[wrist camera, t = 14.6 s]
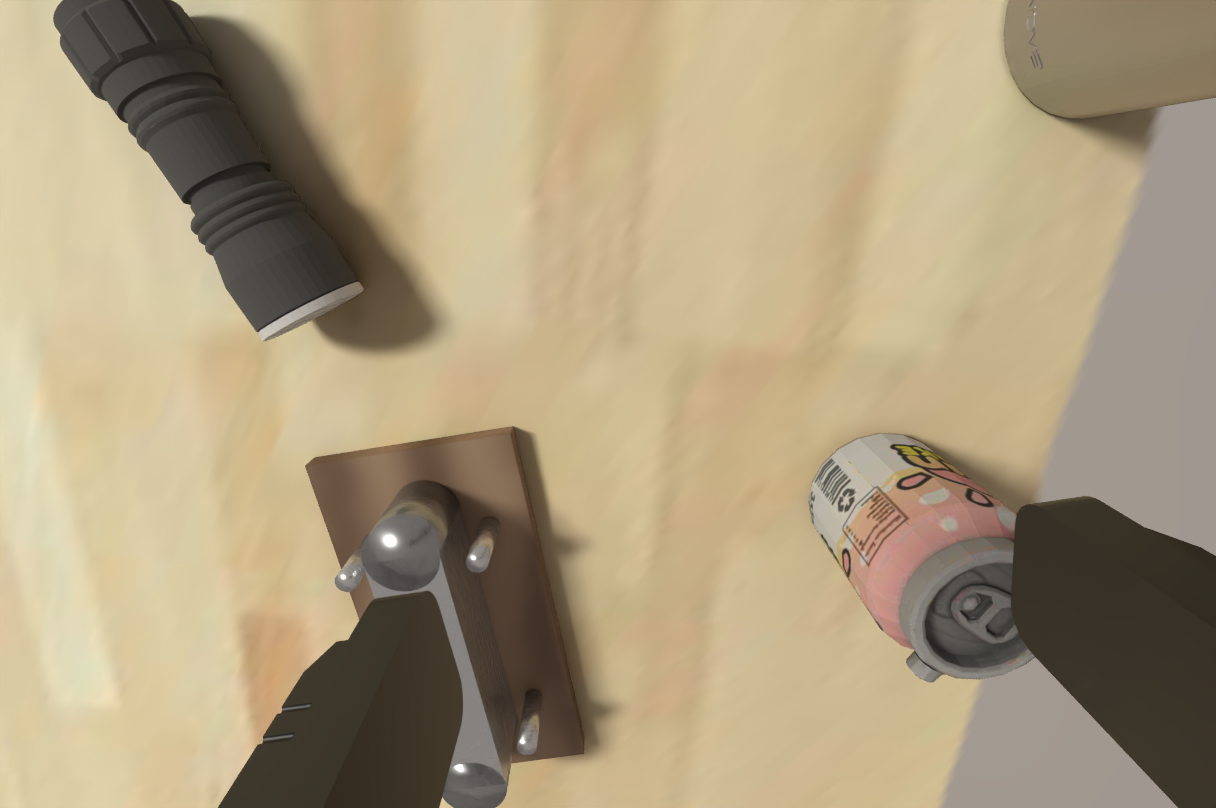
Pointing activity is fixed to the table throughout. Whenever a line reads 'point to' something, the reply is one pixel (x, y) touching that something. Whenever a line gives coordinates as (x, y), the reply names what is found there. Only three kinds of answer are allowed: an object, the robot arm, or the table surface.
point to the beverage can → (922, 554)
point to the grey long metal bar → (451, 629)
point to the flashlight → (207, 158)
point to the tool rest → (469, 561)
